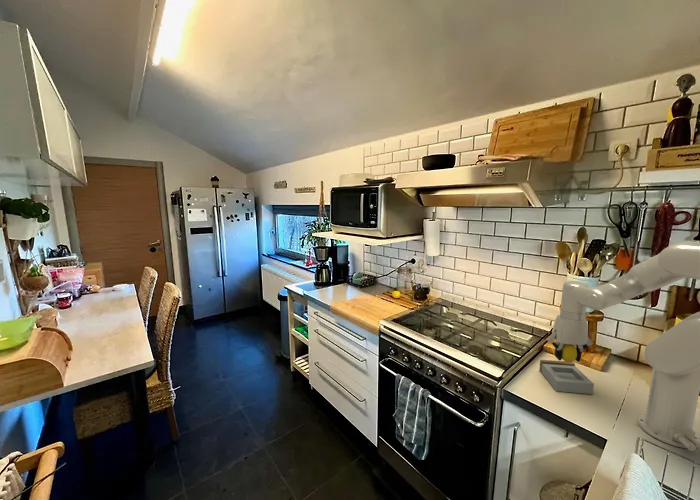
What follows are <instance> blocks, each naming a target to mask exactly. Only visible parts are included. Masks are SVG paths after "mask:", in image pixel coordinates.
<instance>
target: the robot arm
mask: <svg viewBox="0 0 700 500" xmlns="http://www.w3.org/2000/svg"><path fill="white" fill-rule="evenodd" d="M686 278H687V279H694V280H700V242H698V241H684V242H679V243H675V244H671V245H668V246H667V247H666V248H664V249H662V251H660V252H659V253H658V254H655V255H654V256H651V257H650V258H647V259H646V260H642V261H641V262H639V263H637V264H635V265H633V266H632V267H631V268H630V269H629V271H628V272H627V273H624V274H623V275H621V276H618V277H617V278H615V279H613V280H611V281H608V282H606V283H603V284H601V285H597V286H592V287H589V285H588V284H587V283H585V282H582V281H577V280H566V281H565V282H564V283H563V285H562V291H561V293H562V294H561V299H560V303H561V304H560V311H559V314H557V315H556V317H555V321H554V324H553V328H552V333H551V335H549V336H548V337H546V341H548V342H549V343H550V345H552V347H554V348H555V349H554V356H555V358H556V359H557V361H562V360H563V359H562V350H561V348H562V347H563V345H564V344H572V345H573V346H574V345H575V348H576V350H577V358H576V359H575V360H574V361H576V362H578V363H579V362H580V363H581V359H582V354H583V352H584V351H585V350H586V349H588V348H589V347H591V346H592V345H593V344H594V342H593V341H592V340H591V339H590V337H589V325H588V320H587V319H586V318H587V317H589V316H590V312H589V311H587V308H588V309H591V310H594V311H603V310H605V309H608V308H610V307H613V306H616V305H619V304H621V303H623V302H626V301H628V300H630V299H633V298H636V297H638V296H640V295H644V294H646V293H649V292H654V291H656V290H659V289H662V288H663V287H666V286H669V285H671V284H673V283H675V282H678V281H681V280H683V279H686ZM554 340H555V341H554ZM644 358H645V361H646V362H647V364H648V365H649V366H650V367H651V368H652V374H651V379H650V383H649V392H648V399H647V406H646V412H645V413H644V414H641V415H638V418H637V423H638V426H639V427H640V428H641V429H642V430H643V431H644V432H645V433H647V434H649V436H652V437H653V438H654V439H657V440H658V441H661V442H663V443H666V444H668V445H671V446H674V447H677V448H682V449H687V450H688V451H691V452H695V451H696V450H697V448H698V449H700V439H699V437H698V436H697V435H696V431H695V430H693V429H694V424H695V418H696V413H697V408H698V402H699V395H700V311H698V312H695V313H693V314H691V315H689V316H687V317H685V318H683V320H681V321H679V322H678V323H677V324H675V325H674V326H672V327H670V328H669V329H668V330H666V331H664V332H663V333H662V334H660V335H659V336H657V337H656V338H654V339H653V340H651V341H650V342H649V343H647V345H646V346H645V348H644Z"/></svg>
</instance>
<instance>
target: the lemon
mask: <svg viewBox="0 0 700 500" xmlns="http://www.w3.org/2000/svg"><path fill="white" fill-rule="evenodd" d="M561 350H562V359H561V360H562V361H565V362H567V363H568V362H574V361H576V360H575V359H576V358H577V350H576V346H574V345H572V344H564V345H563V347H562V348H561Z"/></svg>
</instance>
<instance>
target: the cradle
mask: <svg viewBox="0 0 700 500" xmlns="http://www.w3.org/2000/svg"><path fill="white" fill-rule="evenodd" d="M541 374H542V375H543V376H544V377H545V380H547V382H548V383H549V385H551V387H552V388H553V389H554V390H555V392H564V393H576V394H586V395H594V387H595V383H593V382H592V381H591V380H590V379H589V378H588V376H586V374H584V373H583V371H581V370H580V369H579V368H578V367H577V366H576V365H575V366H568V365H554V364H542V373H541Z"/></svg>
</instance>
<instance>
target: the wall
mask: <svg viewBox="0 0 700 500" xmlns="http://www.w3.org/2000/svg"><path fill="white" fill-rule="evenodd" d="M542 364H554V365H568V366H576V364H575V362H574V361H572V362H568V363H567V362H565V361H564V360H552V359H540V360H539V371H538V372H539V373H541V374H542Z"/></svg>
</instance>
